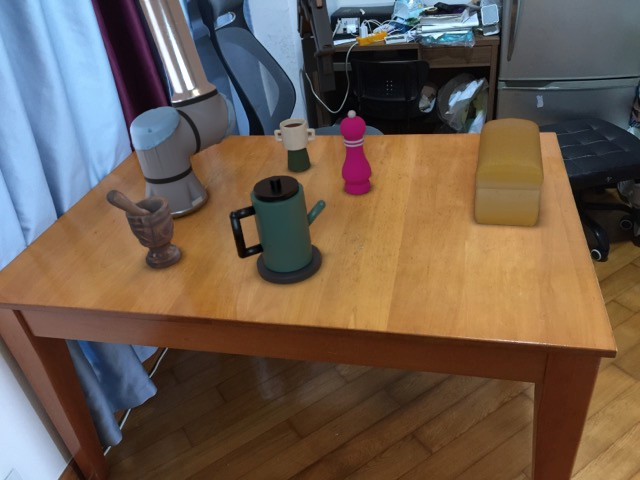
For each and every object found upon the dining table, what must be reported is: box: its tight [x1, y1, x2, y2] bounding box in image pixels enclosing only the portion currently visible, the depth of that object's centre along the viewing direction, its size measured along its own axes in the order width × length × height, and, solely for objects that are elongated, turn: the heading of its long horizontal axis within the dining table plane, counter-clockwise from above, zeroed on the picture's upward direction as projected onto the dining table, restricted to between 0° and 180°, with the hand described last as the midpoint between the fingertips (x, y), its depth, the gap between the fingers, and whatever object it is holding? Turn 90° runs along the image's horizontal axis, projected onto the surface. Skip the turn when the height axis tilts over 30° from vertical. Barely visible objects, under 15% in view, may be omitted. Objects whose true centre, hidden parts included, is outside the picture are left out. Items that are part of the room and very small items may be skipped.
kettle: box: [228, 174, 327, 272], centre depth 104 cm, size 19×10×18 cm, turn 114°
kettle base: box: [256, 243, 322, 285], centre depth 110 cm, size 13×13×2 cm
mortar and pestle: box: [105, 189, 182, 270], centre depth 110 cm, size 12×9×20 cm
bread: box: [473, 117, 545, 227], centre depth 119 cm, size 24×13×15 cm, turn 164°
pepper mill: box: [339, 110, 372, 196], centre depth 129 cm, size 7×7×20 cm
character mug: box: [273, 117, 317, 173], centre depth 144 cm, size 11×7×13 cm, turn 80°
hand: (319, 80), depth 106 cm, fingers open, 13 cm apart
